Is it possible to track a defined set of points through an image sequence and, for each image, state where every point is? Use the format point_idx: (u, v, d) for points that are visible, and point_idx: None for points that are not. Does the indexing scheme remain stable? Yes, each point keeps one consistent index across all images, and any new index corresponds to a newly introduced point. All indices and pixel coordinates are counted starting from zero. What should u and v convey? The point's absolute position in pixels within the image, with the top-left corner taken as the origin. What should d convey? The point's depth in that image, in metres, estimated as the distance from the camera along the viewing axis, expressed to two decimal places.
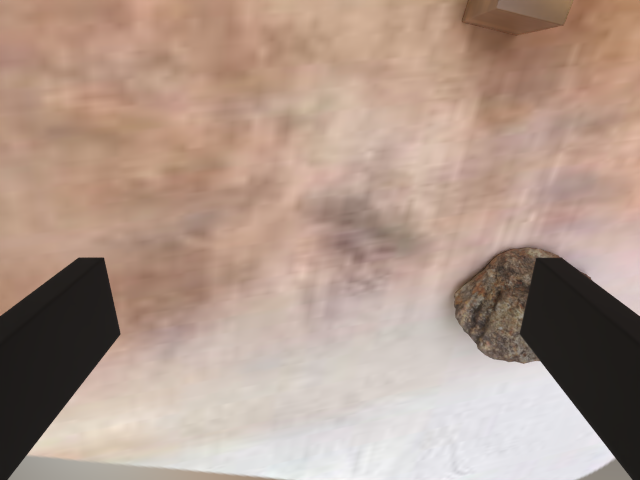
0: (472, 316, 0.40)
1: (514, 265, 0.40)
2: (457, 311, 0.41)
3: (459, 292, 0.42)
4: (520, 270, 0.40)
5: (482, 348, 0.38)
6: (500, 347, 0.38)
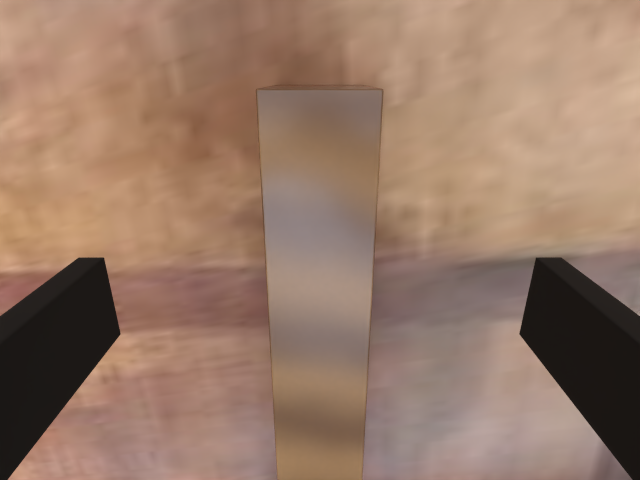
0: None
1: None
2: None
3: None
4: None
5: None
6: None
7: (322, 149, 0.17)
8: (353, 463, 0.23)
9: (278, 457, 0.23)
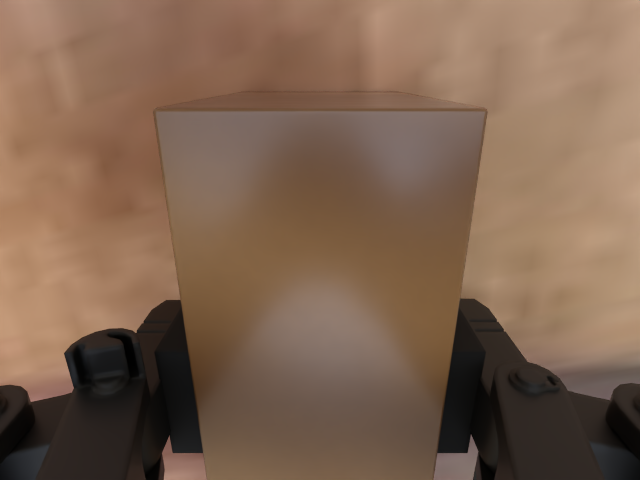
0: None
1: None
2: None
3: None
4: None
5: None
6: None
7: (325, 253, 0.07)
8: None
9: None
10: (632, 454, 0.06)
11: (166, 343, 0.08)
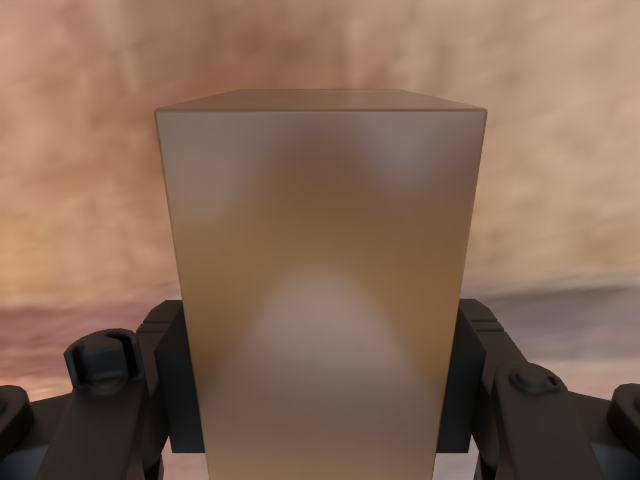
0: None
1: None
2: None
3: None
4: None
5: None
6: None
7: (326, 252, 0.07)
8: None
9: None
10: (633, 454, 0.06)
11: (165, 343, 0.08)
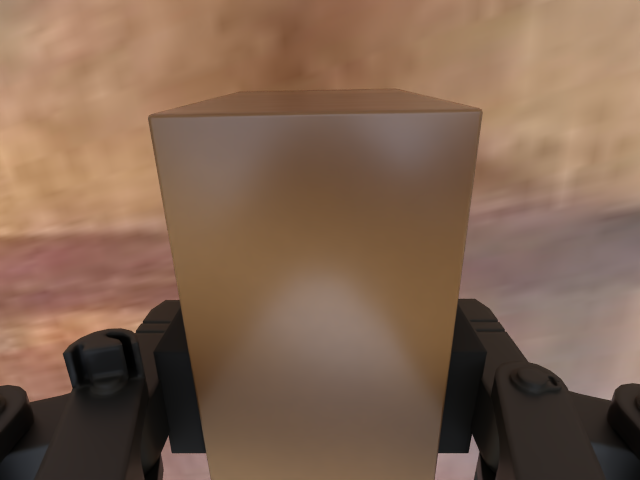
0: None
1: None
2: None
3: None
4: None
5: None
6: None
7: (323, 255, 0.07)
8: None
9: None
10: (633, 454, 0.06)
11: (165, 343, 0.08)
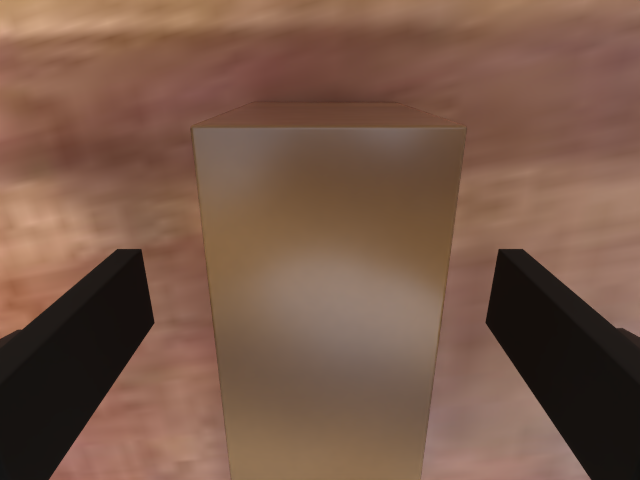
0: None
1: None
2: None
3: None
4: None
5: None
6: None
7: (332, 245, 0.08)
8: None
9: None
10: None
11: None
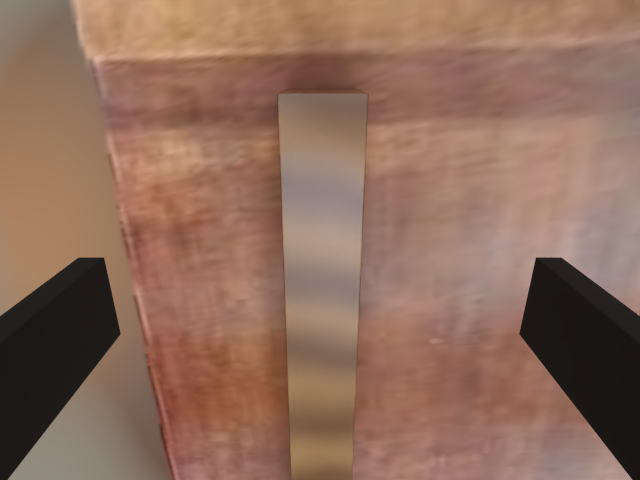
0: None
1: None
2: None
3: None
4: None
5: None
6: None
7: (324, 136, 0.23)
8: (348, 385, 0.30)
9: (289, 381, 0.30)
10: None
11: None
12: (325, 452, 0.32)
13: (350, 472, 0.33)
